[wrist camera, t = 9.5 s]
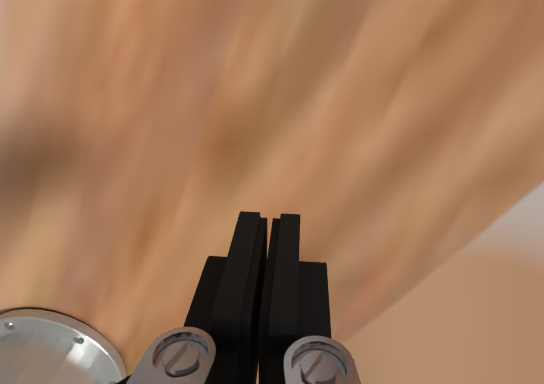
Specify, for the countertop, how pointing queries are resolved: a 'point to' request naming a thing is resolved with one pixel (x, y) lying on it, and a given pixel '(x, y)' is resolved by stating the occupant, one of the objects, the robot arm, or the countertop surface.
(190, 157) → the countertop surface
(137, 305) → the countertop surface
